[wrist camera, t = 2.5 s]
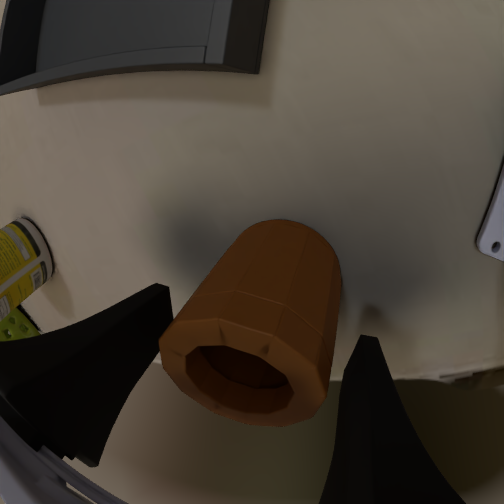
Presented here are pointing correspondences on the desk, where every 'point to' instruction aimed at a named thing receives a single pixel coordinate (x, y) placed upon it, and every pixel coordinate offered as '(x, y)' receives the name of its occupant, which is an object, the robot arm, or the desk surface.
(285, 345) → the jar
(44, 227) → the desk surface
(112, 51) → the tray
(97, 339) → the robot arm
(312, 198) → the desk surface
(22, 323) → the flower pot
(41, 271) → the pill bottle
